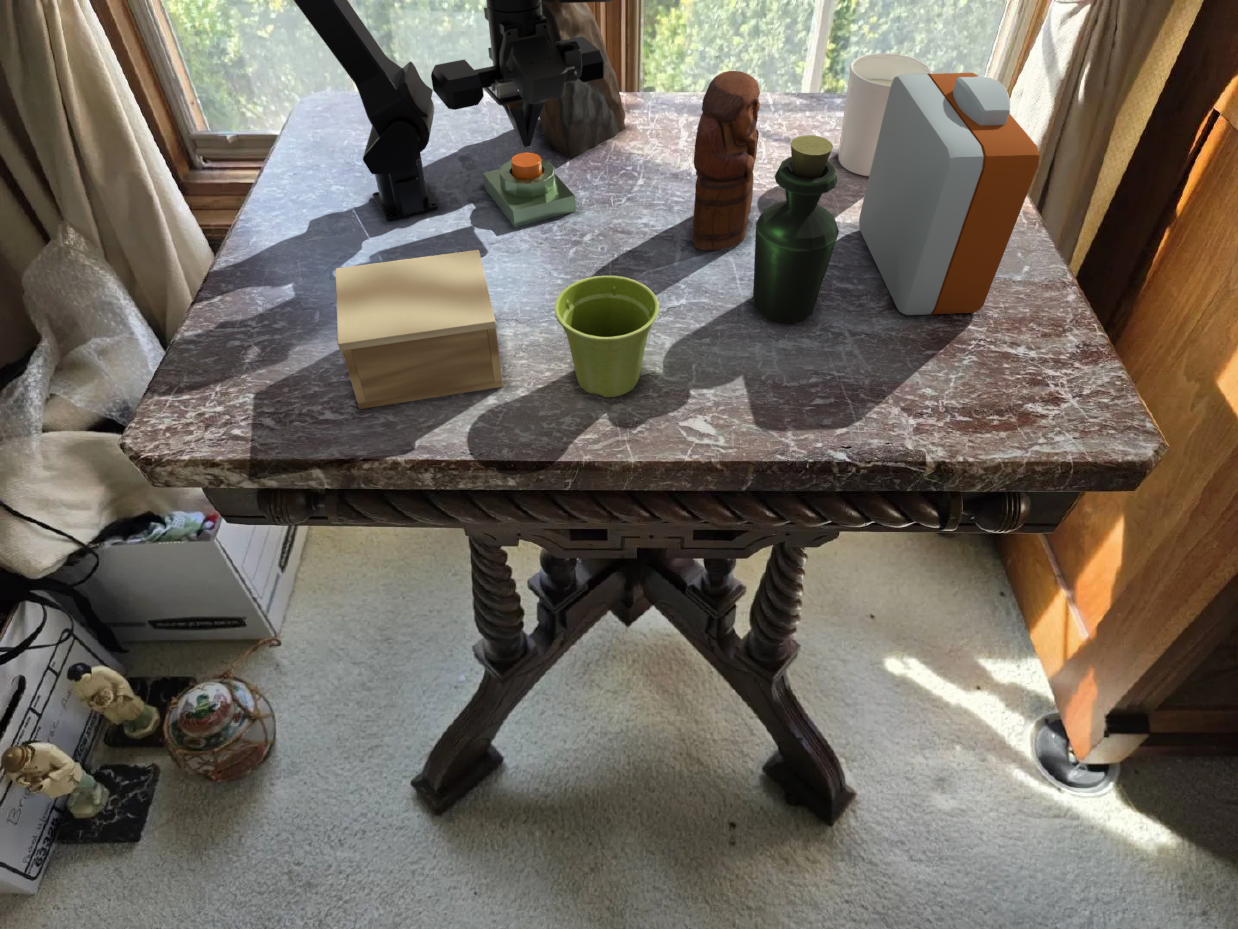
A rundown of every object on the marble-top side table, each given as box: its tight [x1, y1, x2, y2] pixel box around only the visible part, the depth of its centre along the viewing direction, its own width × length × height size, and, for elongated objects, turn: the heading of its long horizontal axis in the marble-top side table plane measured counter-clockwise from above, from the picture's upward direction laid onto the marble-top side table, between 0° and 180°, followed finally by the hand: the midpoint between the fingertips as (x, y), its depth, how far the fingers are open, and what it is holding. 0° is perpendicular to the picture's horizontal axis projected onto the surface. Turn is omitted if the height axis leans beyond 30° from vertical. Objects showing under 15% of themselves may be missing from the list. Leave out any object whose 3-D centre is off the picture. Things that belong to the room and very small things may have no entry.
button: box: [510, 151, 542, 179], centre depth 102 cm, size 4×4×2 cm
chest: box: [341, 327, 504, 410], centre depth 81 cm, size 11×14×8 cm
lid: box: [335, 249, 497, 352], centre depth 78 cm, size 12×14×1 cm
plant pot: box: [554, 275, 660, 398], centre depth 80 cm, size 9×9×9 cm
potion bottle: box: [752, 134, 840, 324], centre depth 84 cm, size 8×8×18 cm
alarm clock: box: [858, 72, 1041, 316], centre depth 88 cm, size 18×9×21 cm, turn 4°
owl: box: [537, 0, 627, 158], centre depth 110 cm, size 13×13×20 cm
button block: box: [482, 158, 576, 228], centre depth 104 cm, size 10×8×4 cm
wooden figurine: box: [692, 70, 761, 251], centre depth 94 cm, size 12×6×18 cm, turn 164°
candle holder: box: [837, 52, 933, 177], centre depth 108 cm, size 10×10×12 cm
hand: (525, 145), depth 100 cm, fingers closed
